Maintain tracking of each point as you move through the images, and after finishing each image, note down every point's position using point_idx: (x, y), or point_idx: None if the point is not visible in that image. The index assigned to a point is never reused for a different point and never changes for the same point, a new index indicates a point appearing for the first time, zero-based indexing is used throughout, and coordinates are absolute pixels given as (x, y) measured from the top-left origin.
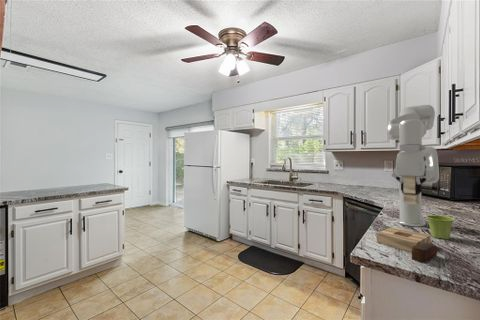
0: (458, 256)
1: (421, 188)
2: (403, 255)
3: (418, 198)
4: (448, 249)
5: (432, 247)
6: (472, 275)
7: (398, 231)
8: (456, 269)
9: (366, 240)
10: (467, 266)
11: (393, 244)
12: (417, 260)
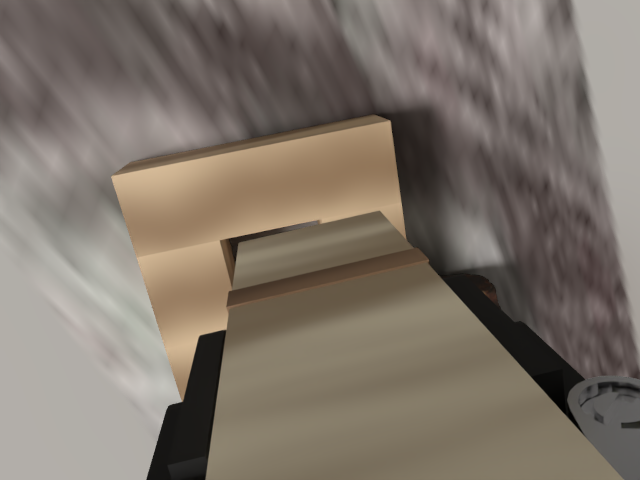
0: (534, 166)
1: (549, 351)
2: None
3: (398, 238)
4: (464, 91)
5: None
6: (627, 345)
7: (220, 240)
8: (576, 343)
9: (140, 401)
10: (594, 267)
11: None
12: None
